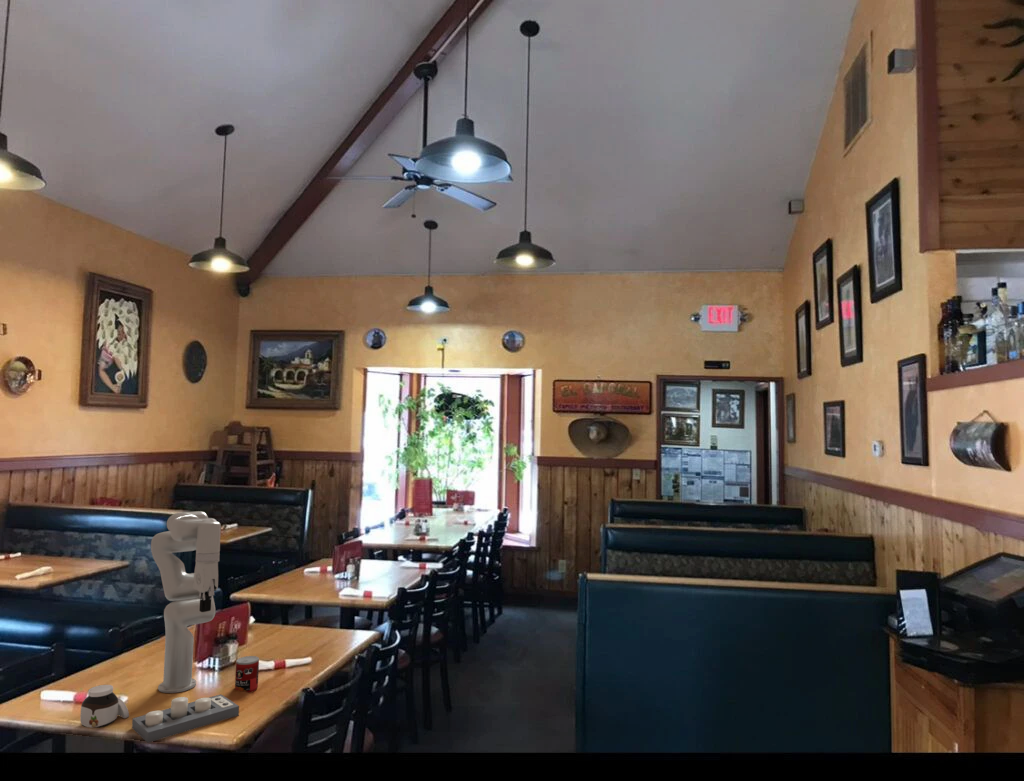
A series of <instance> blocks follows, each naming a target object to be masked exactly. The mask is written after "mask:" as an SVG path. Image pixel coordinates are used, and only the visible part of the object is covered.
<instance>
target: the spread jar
mask: <svg viewBox="0 0 1024 781" xmlns="http://www.w3.org/2000/svg"><path fill="white" fill-rule="evenodd" d="M113 691H114V686H113V685H111V684H101V685H96V686H93V687H91V688H89V689H88V691H87V692H88V694H87V695H88V696H87V697H85V698H84V700H83V701H82V703H81V706H80V714H79V716H80V723H81V726H83V727H85V728H90V729H91V728H92V729H93V728H94V729H101V728H104V727H107V726H109V725H112V724H113V723H114V722H115V721H116V719H117V718H118V717H121V718H123V719H125V720H126V719H127V718H129V717H130V714H129V713H130V712H129V709H128V707H127V705H126V703H125V702H124V701H123V700H122V699H121V698H119V697H118V696H117V695H116V693H114V692H113Z"/></svg>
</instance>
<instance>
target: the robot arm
mask: <svg viewBox="0 0 1024 781" xmlns="http://www.w3.org/2000/svg"><path fill="white" fill-rule="evenodd" d="M221 526H222V525H221V523H220V522H219V521H217V519H215V518H212V517H209V516H208V515H207V513H206V512H205V511H201V510H200V511H199V510H198V511H197V510H196V511H181V512H180V511H179V512H176V513H174V514H172V515H170V516H169V517H168V519H167V521H166V528H167V529H168V531H163V532H159V533H156V534H154V536H153V537H152V538H151V542H150V549H151V555H152V558H153V560H154V562H155V564H156V565H157V568H158V569H159V572H160V577H161V583H162V589H163V593H164V597H165V598H166V600H167V601H170V603H168V604H167V605H165V608H164V609H163V619H164V627H165V628H164V630H165V632H164V633H165V638H164V639H165V640H164V642H165V643H164V661H163V664H164V665H163V678H162V680H163V681H162V682H161V683H160V684H158V688H157V689H158V691H159V692H161V693H164V694H165V693H166V694H176V693H182V692H185V691H189V690H191V689H193V688H195V687H196V685H197V680H196V679H195V678H193V664H194V662H193V659H194V644H195V642H194V640H195V638H194V635H193V633H192V631H191V630H190V629H188V626H189V627H190V626H192V625H193V626H194V625H199V624H204V623H208V622H211V621H212V620H213V619H214V618H215V616H216V605H215V604H216V603H215V598H214V596H215V592H216V591H217V590H218V587H219V562H220V555H221V554H220V551H221V530H222V528H221ZM193 551H195V566H194V572H191V573H187V571H186V567H185V563H184V562H183V561H182V560H181V559H180V558H179V557H178V556H176V555H174V553H183V552H184V553H185V552H193Z"/></svg>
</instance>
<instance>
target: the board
mask: <svg viewBox="0 0 1024 781" xmlns="http://www.w3.org/2000/svg"><path fill="white" fill-rule="evenodd" d="M208 698H211V709H209V710H206V711H202V712H199V713H196V712H195V701H196V700H195V701H192V702H188V710H187V716H185V717H181V718H178V719H172V718H171V707H170V708H169V707H168V708H166V709H165V708H164V709H162V710H160V711H163V723H160V724H157V725H153V726H150V727H146V726H145V720H146V714H143V715H140V716H137V717H133V718H132V719H131V720H132V721H131V722H132V724H131V729H132V730H134V732H135V733H137V735H139V736H140V737H141V739H143V740H144V741H145V742H146V743H147V744H148V743H151V742H155V741H158V740H162V739H165V738H170V737H172V736H175V735H179V734H182V733H185V732H189V731H191V730H195V729H198V728H201V727H205V726H208V725H212V724H215V723H218V722H222V721H225V720H228V719H231V718H235V717H237V716H239V715H240V714H239V713H240V705H238V704H236V702H234V701H233V700H231V699H229V698H228V697H226V696H224V695H223V694H222V693H221V694H217V695H213V696H209V697H208Z"/></svg>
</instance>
